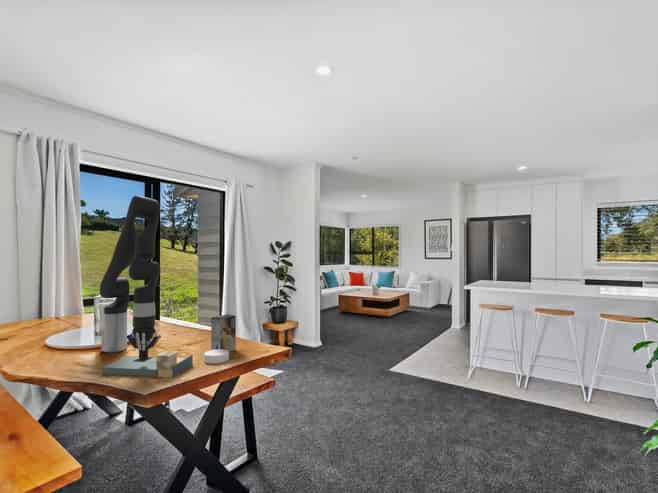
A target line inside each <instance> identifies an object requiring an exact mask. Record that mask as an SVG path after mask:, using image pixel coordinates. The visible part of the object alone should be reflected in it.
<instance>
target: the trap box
mask: <svg viewBox="0 0 658 493" xmlns="http://www.w3.org/2000/svg"><path fill="white" fill-rule="evenodd" d="M193 357H194V356H193V354H190V355H188V356H187V357H177V364H175V365H174V366H172V368H171V369H170V370H163V369H156V366H157V356H148V358H147V359H146V360H140V359H139V355H126V356H124V357H122V358H120V359H118V360H115V361H113V362H112V363H109V364H107V365H104V366H103V367H102V371H101V372H102V375H112V374H117V375H116V376H133V375H139V376H138V377H154V376H156V378H175V377H177V376H178V375H179V374H181V373H182V372H184V371H185V370H186V369H188V368H190V367H191V366H193V365H194V364H193V363H194V362H193Z"/></svg>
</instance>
